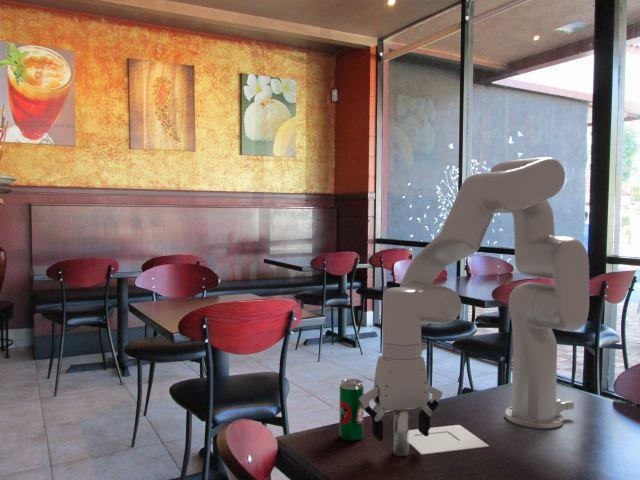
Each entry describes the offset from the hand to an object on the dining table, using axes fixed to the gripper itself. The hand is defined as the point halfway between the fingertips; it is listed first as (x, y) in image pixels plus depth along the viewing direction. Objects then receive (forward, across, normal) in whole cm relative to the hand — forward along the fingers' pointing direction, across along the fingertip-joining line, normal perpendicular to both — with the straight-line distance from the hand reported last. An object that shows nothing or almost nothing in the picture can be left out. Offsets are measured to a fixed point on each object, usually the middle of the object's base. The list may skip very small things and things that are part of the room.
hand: (401, 436), depth 111 cm
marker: (+3, 0, 0) cm, 3 cm away
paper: (+3, -11, -4) cm, 12 cm away
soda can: (+4, +7, -10) cm, 13 cm away
